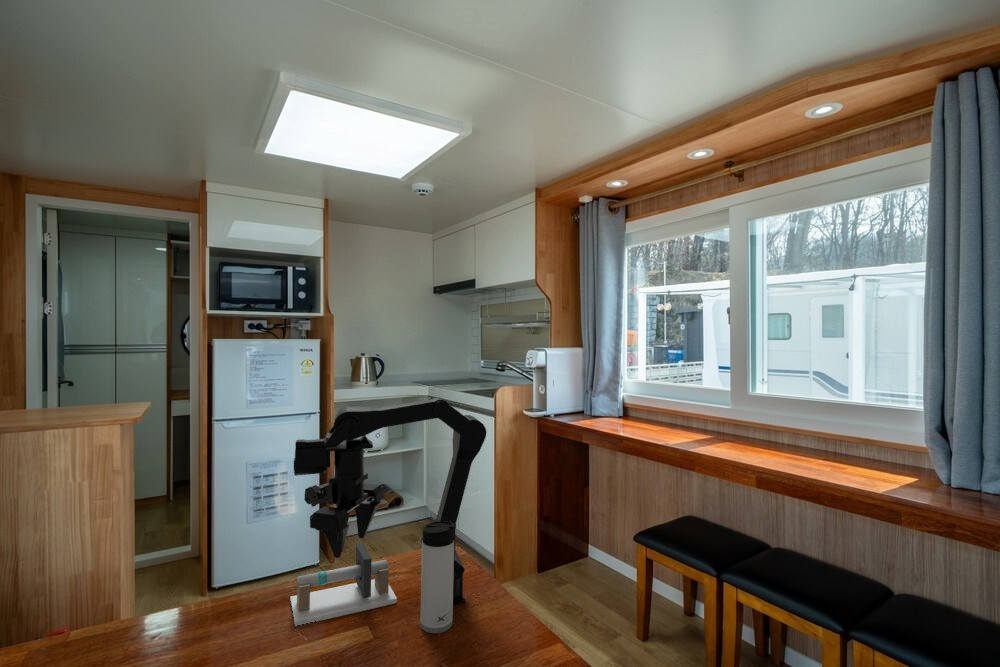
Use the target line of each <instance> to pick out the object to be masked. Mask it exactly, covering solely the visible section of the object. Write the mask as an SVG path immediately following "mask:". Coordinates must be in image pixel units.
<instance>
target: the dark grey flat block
mask: <svg viewBox="0 0 1000 667" xmlns="http://www.w3.org/2000/svg"><path fill="white" fill-rule="evenodd" d="M371 562H372V557H371V555H370V553H369V552H368V550H367V548H366V546H365V545H364V543H359V544H358V543H357V544H356V545H355V565H360V564H361V566H362V572H361V577H357V578H355V583H357V585H358V587H359V589H360V592H361V594H362V596H363V598H368V597H371V580H372V575H371Z"/></svg>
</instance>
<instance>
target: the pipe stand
mask: <svg viewBox="0 0 1000 667" xmlns="http://www.w3.org/2000/svg"><path fill="white" fill-rule="evenodd" d="M361 572H362V566H361V564H360V565H356V564H355V565H351V566H345V567H339V568H334V569H331V570H330V569H329V570H321V571H317V572H315V573H309V574H304V575H299V576H297V580H296V583H297V584H296V585H297V586H296V587H297V588H296V590H297V591H296V594H295V595H291V596H290V598H289V601H291V602H290V606H292V607H291V611H293V613H292V616H293V617H294V618H293V623H294V627H298V626H297V625H300V626H303V625H302V624H304V625H307V624H306V623H308V624H311V623H310V622H313V623H316V622H320V621H325V620H328V619H334V618H339V617H342V616H346V615H347V616H348V615H351V614H354V613H360V612H364V611H369V610H373V609H376V608H381V607H386V606H390V605H394V604H397V603H398V598H397V596H396V594H395V592H394V591H393V589H392V587H391V585H390V583H389V582H390V581H389V579H390V578H389V577H390V569H389V564H388V559H381V560H377V561H371V576H372V575H374V579H371V597H368V598H363V596H362V594H361V592H360V589H359V587H358V585H357V583H356V582H353V583H350V584H345V585H340V586H335V587H330V588H326V589H325V588H324V589H321V590H320V589H319V590H316V591H311V588H312V587H317V586H325V585H327V584H331V583H332V584H333V583H337V582H341V581H348V580H352V579H356V578H357V577H361ZM315 621H316V622H315Z"/></svg>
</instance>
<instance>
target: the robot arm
mask: <svg viewBox="0 0 1000 667" xmlns="http://www.w3.org/2000/svg"><path fill="white" fill-rule="evenodd" d="M434 419H439V420H440V421H442V422H443V423H444V424H445V425H447V426H448V427H449V428H450V429H452V430H453V433H452V458H451V463H450V465H449V469H448V473H447V477H446V480H445V483H444V487H443V492H442V495H441V496H442V497H441V500H440V503H439V506H438V511H437V515H436V518H435V520H434V521H433V522H437V521H450V522H452V523H455V524H456V525H457V521H458V518H459V514H460V510H461V506H462V502H463V498H464V494H465V491H466V487H467V486H466V485H467V482H468V480H469V474H470V471H471V468H472V463H473V461H475V459H476V457H477V455H478V454H479V453H480V452H481V449H482V447H483V445H484V443H485V440H486V438H487V428H486V426H485V424H483V423H482V422H481V421H480V420H479V419H478V418H476V417H474V415H470V414H464V415H463V414H462V413H461V412H460V411H458V410H457V409H455V408H454V407H453V406H452V405H451V404H449V402H448V401H447V400H445V399H444V398H443V397H440V396H439V397H438V396H435V397H434V398H431V399H425V400H420V401H412V402H407V403H401V404H395V405H394V404H393V405H388V406H382V407H370V406H345V407H342V408H340V409H339V410H338V411H337V413H336V414H335V416H334V419H333V424H332V426H331V428H330V429H329V431H328V432H327V433H326V435H325V437H324V438H320V439H318V438H317V439H297V440H296V441H295V442H294V443H295V445H294V446H295V448H294V451H295V452H294V459H293V474H294V476H295V477H296V476H307V475H319V474H325V473H326V471H328V469H330V468H331V467H332V465H331V464H332V462H331V460H332V459H331V457H332V456H331V455H332V453H331V452H333V470H334V473H333V474H334V475H333V476H331V477H330V478H329V479H328V482H327V483H323V484H320V485H317V484H314V485H312V486H311V485H310V486H308V487H306V488H305V489H304V502H305V503H306V504H307V505H311V507H317V505H319V504H323V503H327V504H326V505H330V506H323V507H321V508H319V509H317V510H316V511H314V512H313V513H312V514H311V515H310V516H309V528H310V529H314V530H315V531H318V532H320V531H321V532H322V533H323V534H324V536H325V538H326V540H327V541H328V544H329V547H330V549H331V552H332V555H333V557H334V558H335V559H340V557H342V556H341V555H342V552H343V549H344V545H345V542H346V538H347V534H348V532H349V526H350V524H348V522H349V518H350V516H349V513H350V512H351V511H353V510H354V511H355V519H356V527H357V535H358V536H357V537H358V539H364V538H365V537H366V534H367V532H368V530H369V527H370V525H371V524H372V521H373V520H374V516H375V514H376V512H377V510H378V508H379V506H380V505H381V504H382V503H381V501H382V500H383V499H384V497H385V491H384V488H383V487H382V485H379V484H370V483H369V484H368V483H365V480H367V479H369V473H368V472H365V465H364V460H365V459H364V458H365V457H364V456H365V455H364V453H365V452H364V450H366V449H367V450H368V449H373V448H374V443H373V441H372V440H370V439H369V438H368V437H367V435H369V434H372V433H373V432H375V431H378V430H380V429H384V428H387V427H394V426H398V425H406V424H411V423H417V422H422V421H428V420H434ZM358 438H359V439H358ZM343 442H345V443H343ZM332 505H335V506H336V507H334V506H333V507H332ZM426 525H428V523H426V524H424V527H426ZM419 541H420V545H422V538H421V539H420V540H419ZM456 542H457V540H456V529H455V530H454V571H453V606H456V605H457V606H458V605H462V604H465V603H466V602H467V600H466V598H465V597H464V596H463V593H464V591H463V590H464V587H463V586H464V573H465V571H466V570H465V567H464V564H463V562H462V560H461V559H460V557H459V554H458V552H457V550H456V545H457V544H456Z"/></svg>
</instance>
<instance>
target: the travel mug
mask: <svg viewBox="0 0 1000 667" xmlns="http://www.w3.org/2000/svg"><path fill="white" fill-rule="evenodd" d="M425 525H426V524H425ZM456 529H457V523H456V524H455V523H452V522H450V521H437V522H434V521H433V522H429V523H427V525H426V527H425V526H424V527H423V528H422V538H421V539H422V544H421V572H420V573H421V576H420V578H421V579H420V582H421V583H420V584H421V585H420V621H419V622H420V623H419V625H420V628H421V629H422V630H423V632H426V633H429V634H442V633H445V632H447V631H448V630H450V628H451V627H452V626H453V618H454V617H453V610H454V609H453V608H454V605H453V571H454V530H455V531H456Z"/></svg>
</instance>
